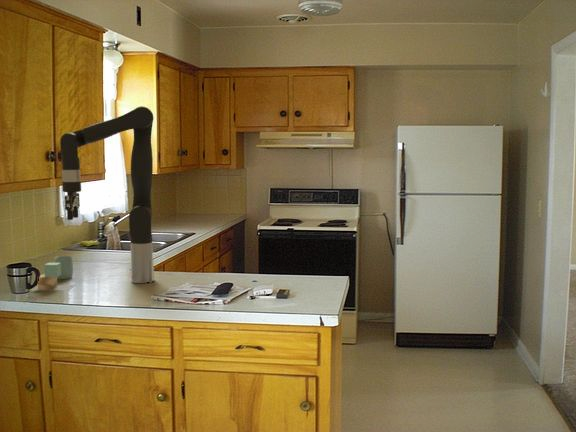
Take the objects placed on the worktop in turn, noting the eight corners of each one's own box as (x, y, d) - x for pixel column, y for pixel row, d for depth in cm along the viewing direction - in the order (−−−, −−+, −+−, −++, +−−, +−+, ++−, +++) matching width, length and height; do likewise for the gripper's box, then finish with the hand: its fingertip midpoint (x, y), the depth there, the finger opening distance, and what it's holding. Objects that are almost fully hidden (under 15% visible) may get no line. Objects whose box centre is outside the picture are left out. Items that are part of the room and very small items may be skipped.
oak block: (57, 286, 279) (57, 274, 279) (53, 289, 273) (52, 277, 273) (42, 286, 279) (42, 274, 278) (38, 289, 273) (37, 277, 273)
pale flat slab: (75, 287, 282) (75, 284, 282) (69, 292, 272) (69, 290, 272) (37, 287, 281) (36, 285, 281) (29, 293, 271) (29, 290, 271)
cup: (54, 282, 292) (53, 259, 291) (55, 278, 300) (54, 256, 299) (73, 281, 295) (72, 258, 293) (74, 277, 302) (73, 255, 301)
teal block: (61, 274, 278) (60, 262, 278) (57, 277, 273) (56, 264, 273) (48, 274, 278) (48, 262, 278) (44, 277, 273) (44, 264, 273)
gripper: (76, 181, 277) (77, 220, 279) (84, 179, 291) (86, 216, 293) (57, 181, 276) (59, 220, 278) (67, 179, 291) (68, 216, 292)
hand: (73, 218), depth 286 cm, fingers open, 8 cm apart
